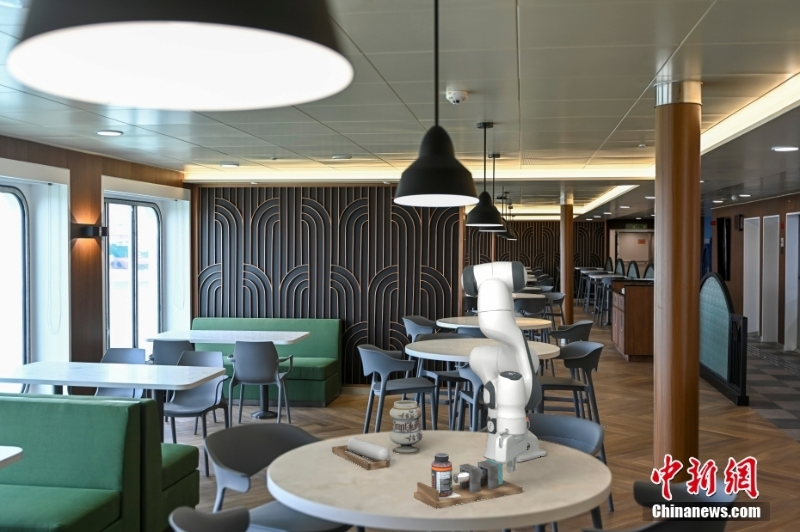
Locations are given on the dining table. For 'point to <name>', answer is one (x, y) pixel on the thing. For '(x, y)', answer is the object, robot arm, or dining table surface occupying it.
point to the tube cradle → (368, 466)
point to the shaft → (483, 474)
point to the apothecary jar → (406, 426)
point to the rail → (468, 487)
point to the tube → (368, 449)
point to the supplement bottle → (442, 474)
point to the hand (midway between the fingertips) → (511, 471)
